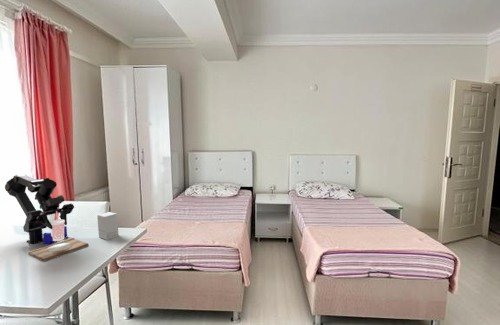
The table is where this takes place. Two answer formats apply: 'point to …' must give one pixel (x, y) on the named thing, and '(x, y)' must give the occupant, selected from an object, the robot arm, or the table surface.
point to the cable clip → (49, 239)
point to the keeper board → (57, 249)
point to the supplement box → (107, 225)
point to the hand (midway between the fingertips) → (59, 226)
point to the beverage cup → (57, 229)
